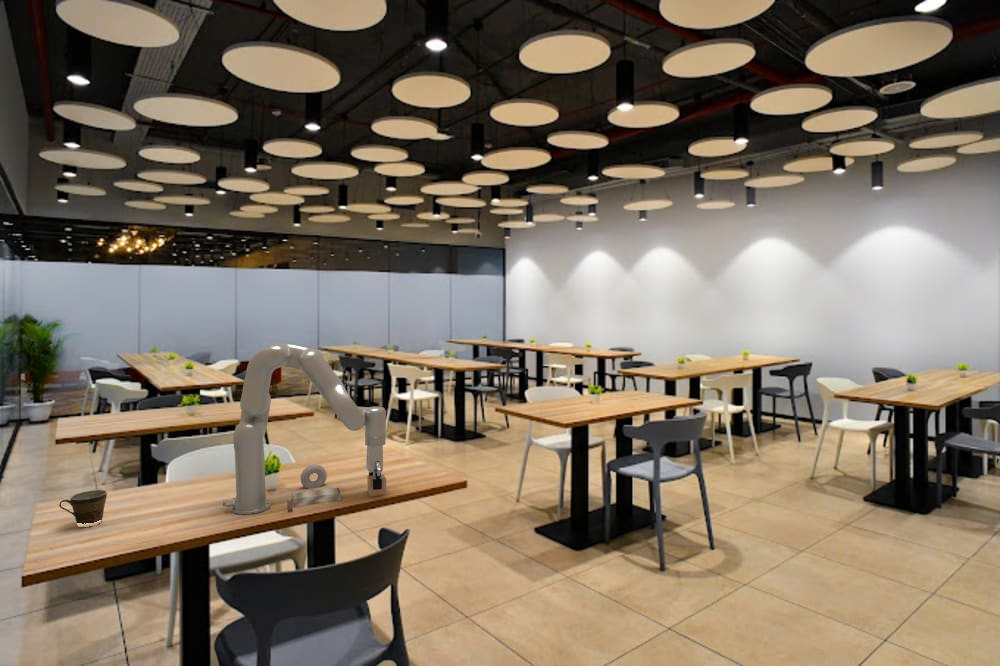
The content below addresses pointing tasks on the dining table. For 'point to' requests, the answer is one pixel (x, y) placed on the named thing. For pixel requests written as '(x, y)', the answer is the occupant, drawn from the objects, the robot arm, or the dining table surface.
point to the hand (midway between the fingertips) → (375, 485)
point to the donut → (310, 470)
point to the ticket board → (314, 497)
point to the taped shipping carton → (376, 492)
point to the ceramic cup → (87, 506)
